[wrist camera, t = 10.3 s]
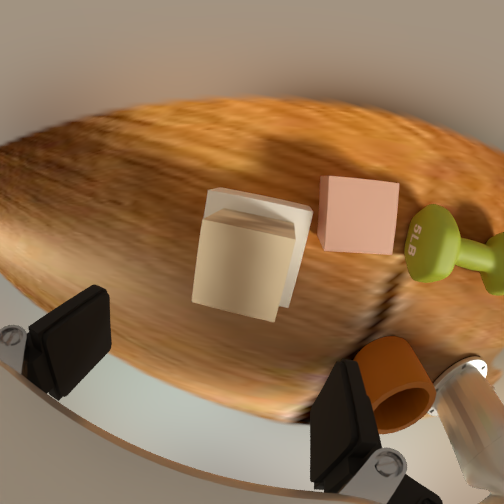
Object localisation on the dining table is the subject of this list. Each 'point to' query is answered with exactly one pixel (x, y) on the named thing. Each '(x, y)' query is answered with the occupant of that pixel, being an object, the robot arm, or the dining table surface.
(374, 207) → the pink cube
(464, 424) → the robot arm
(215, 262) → the maple cube
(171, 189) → the dining table surface
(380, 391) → the mug
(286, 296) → the base block
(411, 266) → the dumbbell
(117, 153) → the dining table surface
